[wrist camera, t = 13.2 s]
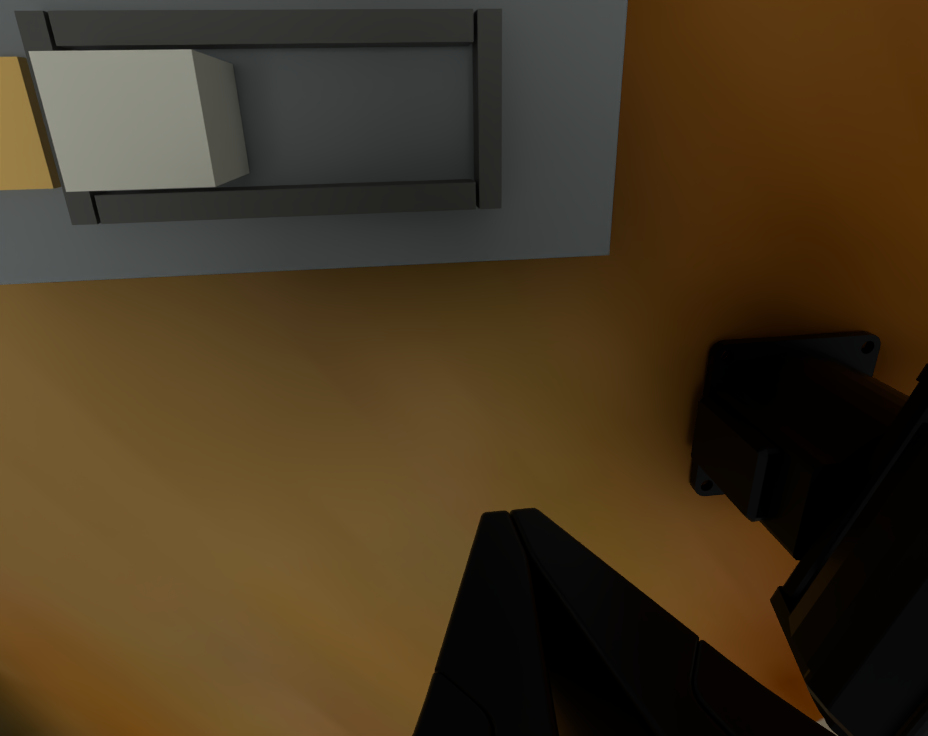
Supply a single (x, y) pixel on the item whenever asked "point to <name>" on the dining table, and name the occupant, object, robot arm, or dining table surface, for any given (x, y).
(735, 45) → the dining table surface
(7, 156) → the switch unit
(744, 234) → the dining table surface
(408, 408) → the dining table surface
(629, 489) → the dining table surface
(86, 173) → the slider
